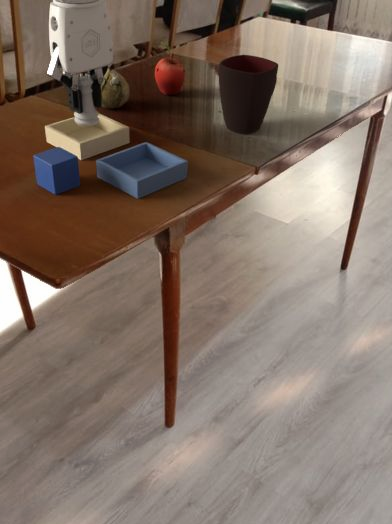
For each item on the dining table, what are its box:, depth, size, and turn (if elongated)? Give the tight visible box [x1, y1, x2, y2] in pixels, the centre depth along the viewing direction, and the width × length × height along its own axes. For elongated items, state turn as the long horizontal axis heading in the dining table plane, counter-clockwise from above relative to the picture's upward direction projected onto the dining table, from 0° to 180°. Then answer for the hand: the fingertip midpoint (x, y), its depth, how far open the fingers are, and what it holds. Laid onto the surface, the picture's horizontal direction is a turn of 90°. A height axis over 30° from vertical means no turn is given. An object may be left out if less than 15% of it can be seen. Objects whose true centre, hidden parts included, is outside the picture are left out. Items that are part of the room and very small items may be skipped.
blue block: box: [32, 147, 81, 196], centre depth 101 cm, size 5×5×5 cm
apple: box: [154, 41, 186, 96], centre depth 132 cm, size 8×7×10 cm
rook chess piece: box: [73, 72, 99, 126], centre depth 110 cm, size 4×4×8 cm
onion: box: [101, 67, 130, 110], centre depth 126 cm, size 8×8×8 cm
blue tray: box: [95, 141, 189, 200], centre depth 104 cm, size 11×10×3 cm
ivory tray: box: [44, 112, 131, 161], centre depth 114 cm, size 11×10×3 cm
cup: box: [218, 54, 279, 136], centre depth 120 cm, size 10×14×12 cm
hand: (85, 107), depth 111 cm, fingers closed on rook chess piece, 3 cm apart
